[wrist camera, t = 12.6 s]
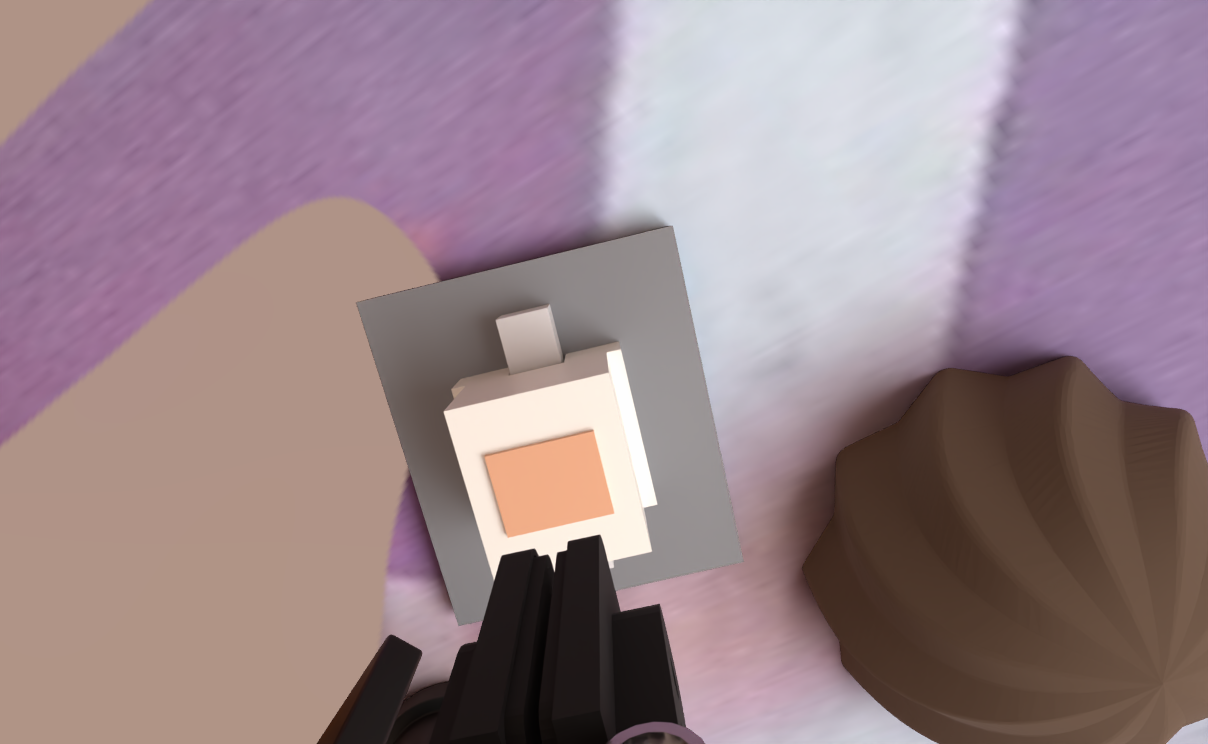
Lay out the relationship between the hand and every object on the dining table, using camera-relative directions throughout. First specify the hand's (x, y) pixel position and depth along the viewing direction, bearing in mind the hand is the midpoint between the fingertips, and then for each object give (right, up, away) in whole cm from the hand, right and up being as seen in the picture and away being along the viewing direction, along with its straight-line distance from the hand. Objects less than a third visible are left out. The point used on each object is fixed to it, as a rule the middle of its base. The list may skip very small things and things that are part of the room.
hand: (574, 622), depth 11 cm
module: (-2, +1, +19) cm, 19 cm away
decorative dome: (+20, -5, +22) cm, 30 cm away
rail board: (-2, +1, +20) cm, 20 cm away
